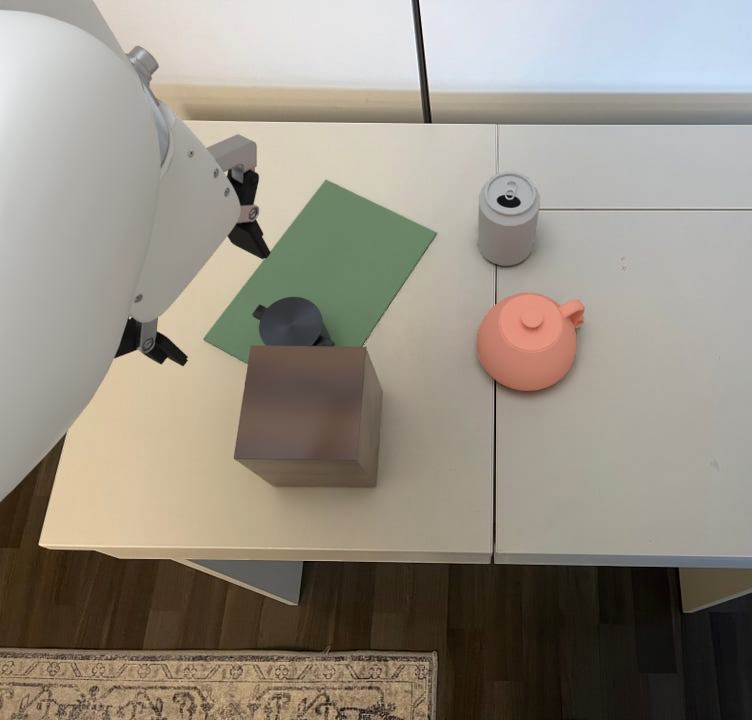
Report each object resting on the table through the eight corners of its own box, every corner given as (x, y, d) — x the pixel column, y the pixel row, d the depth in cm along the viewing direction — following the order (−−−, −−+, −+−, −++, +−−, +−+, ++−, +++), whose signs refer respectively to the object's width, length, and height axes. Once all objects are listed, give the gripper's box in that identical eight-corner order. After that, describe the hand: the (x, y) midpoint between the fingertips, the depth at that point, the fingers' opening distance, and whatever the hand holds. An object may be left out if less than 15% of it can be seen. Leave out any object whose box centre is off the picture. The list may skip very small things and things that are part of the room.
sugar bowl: (460, 330, 84) (459, 292, 75) (557, 289, 87) (568, 248, 77) (502, 412, 80) (507, 384, 71) (602, 368, 83) (619, 335, 73)
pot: (323, 388, 81) (311, 370, 75) (251, 351, 82) (234, 330, 77) (354, 340, 83) (346, 318, 77) (284, 304, 85) (271, 281, 79)
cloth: (322, 405, 80) (322, 404, 80) (203, 340, 83) (202, 338, 83) (436, 234, 90) (436, 232, 89) (326, 181, 93) (325, 179, 92)
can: (473, 264, 88) (473, 212, 77) (482, 217, 91) (484, 161, 80) (528, 273, 88) (537, 222, 76) (536, 225, 90) (545, 170, 79)
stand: (376, 487, 77) (357, 460, 64) (273, 486, 77) (233, 458, 64) (382, 390, 81) (366, 346, 68) (285, 389, 81) (250, 345, 68)
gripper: (137, -5, 35) (241, 191, 51) (-116, 239, 29) (90, 374, 45) (253, 47, 34) (322, 231, 50) (12, 312, 28) (178, 425, 44)
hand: (212, 299), depth 47 cm, fingers open, 9 cm apart
